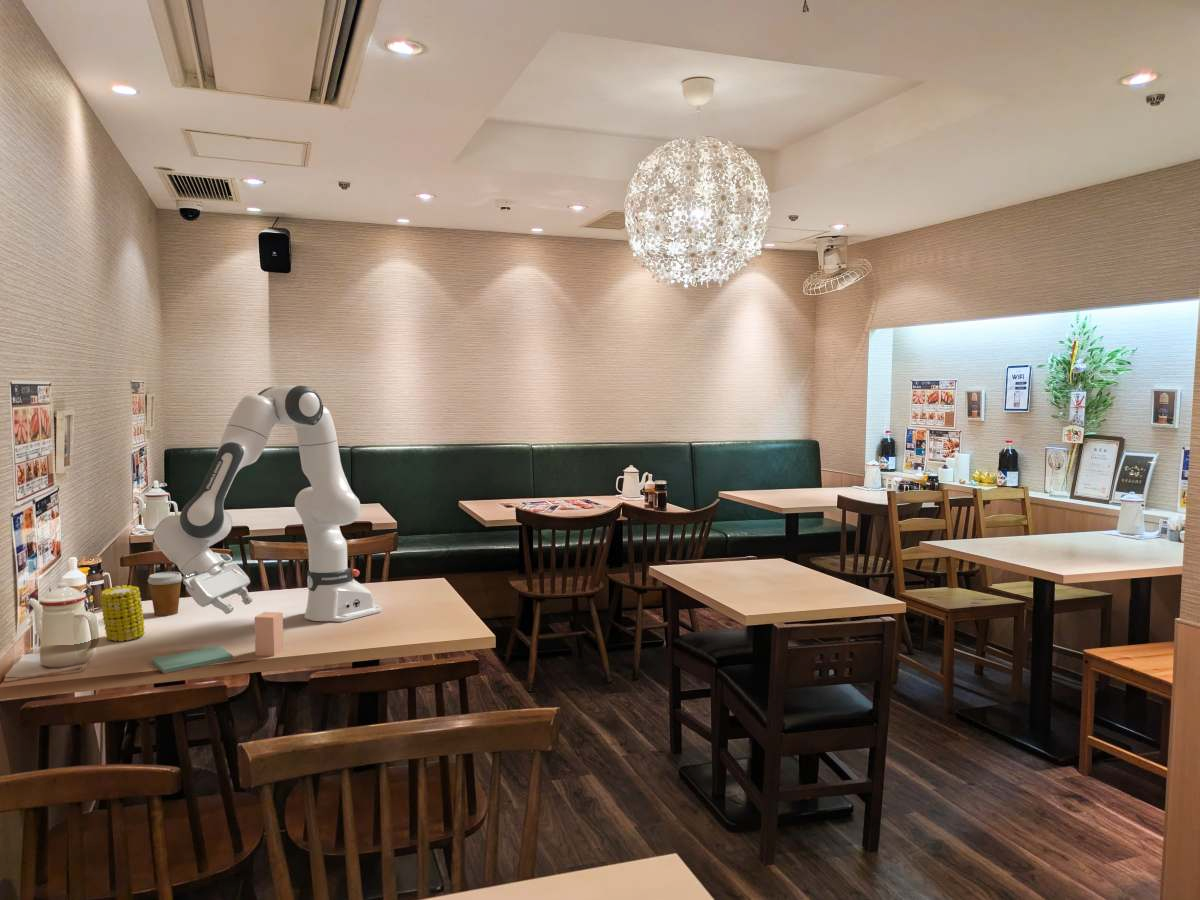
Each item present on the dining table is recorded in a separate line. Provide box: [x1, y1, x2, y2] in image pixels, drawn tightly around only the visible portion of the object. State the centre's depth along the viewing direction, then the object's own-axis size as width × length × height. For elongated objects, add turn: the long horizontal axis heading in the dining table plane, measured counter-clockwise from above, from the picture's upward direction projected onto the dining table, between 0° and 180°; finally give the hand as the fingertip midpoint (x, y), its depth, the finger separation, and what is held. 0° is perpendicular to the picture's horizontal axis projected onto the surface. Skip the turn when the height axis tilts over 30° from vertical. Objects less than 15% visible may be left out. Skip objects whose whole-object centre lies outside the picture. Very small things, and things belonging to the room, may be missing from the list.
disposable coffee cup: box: [146, 571, 184, 617], centre depth 254 cm, size 10×10×12 cm
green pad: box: [150, 645, 234, 674], centre depth 209 cm, size 16×11×1 cm
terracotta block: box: [254, 611, 284, 657], centre depth 216 cm, size 5×5×10 cm
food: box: [99, 584, 146, 643], centre depth 228 cm, size 15×12×10 cm
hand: (240, 607), depth 216 cm, fingers open, 8 cm apart
